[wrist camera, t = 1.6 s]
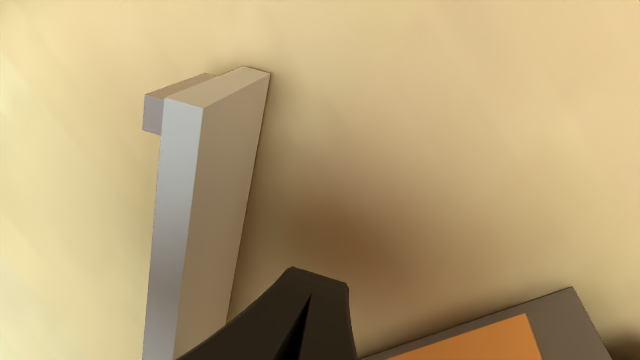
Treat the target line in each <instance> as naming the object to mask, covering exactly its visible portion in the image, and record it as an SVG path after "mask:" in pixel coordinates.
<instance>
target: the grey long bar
mask: <svg viewBox="0 0 640 360" xmlns="http://www.w3.org/2000/svg"><path fill="white" fill-rule="evenodd" d="M269 79H270V73H267V72H263V71H260V70H256V69H252V68H248V67H245V66H243V67H240V68H238V69H235V70H232V71H230V72H227V73H225V74H222V75H220V76H214V75H210V74H206V73H204V74H201V75H198V76H196V77H193V78H190V79H187V80H184V81H182V82H179V83H176V84H173V85H170V86H168V87H165V88H162V89H159V90H156V91H154V92H151V93H148V94H145V100H144V114H143V129H142V130H144V131H148V132H151V133H154V134H158V135H161V143H160V155H159V167H158V178H157V190H156V202H155V213H154V225H153V237H152V249H151V260H150V272H149V284H148V295H147V307H146V319H145V330H144V342H143V354H142V360H176V359H177V358H179V357H180V356H182V355H184V354H185V353H187V352H188V351H190V350H191V349H193V348H194V347H196V346H197V345H199V344H200V343H202V342H203V341H205V340H206V339H207V338H209V337H210V336H211V335H213V334H214V333H215V332H217V331H218V330H219V329H221V328H222V327H223V326H225V325H226V319H227V313H228V308H229V302H230V297H231V291H232V286H233V280H234V274H235V269H236V263H237V258H238V252H239V246H240V241H241V235H242V230H243V224H244V218H245V213H246V207H247V202H248V196H249V191H250V185H251V179H252V174H253V168H254V163H255V157H256V151H257V146H258V140H259V135H260V129H261V124H262V118H263V112H264V107H265V101H266V96H267V90H268V84H269Z"/></svg>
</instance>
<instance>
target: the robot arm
mask: <svg viewBox="0 0 640 360" xmlns="http://www.w3.org/2000/svg"><path fill="white" fill-rule="evenodd" d="M176 360H358V358H357V353H356V348H355V343H354V339H353V333H352V327H351V319H350V311H349V288H348V286H347V284H346V283H344V282H341V281H338V280H335V279H331V278H328V277H325V276H322V275H318V274H315V273H312V272H309V271H306V270H302V269H299V268H296V267H291V268H288V269H287V270H286V271H285V272H284V273H283V274H282V275H281V276H280V278H279V279H278V280H277V281H276V282H275V283H274V284H273V285H272V286H271V287H270V288H269V289H268V290H267V291H265V292H264V293H263V294H262V295H261V296H260V297H259V298H258V299H257V300H256V301H254V302H253V303H252V304H251V305H250V306H248V307H247V308H246V309H245V310H244V311H243V312H241V313H240V314H239V315H238V316H237V317H235V318H234V319H233V320H232V321H230V322H229V323H228V324H226V325H225V326H223V327H222V328H221V329H219V330H218V331H217V332H215V333H214V334H213V335H211V336H210V337H209V338H207V339H206V340H205V341H203V342H202V343H200V344H199V345H197V346H196V347H194V348H193V349H191V350H190V351H188V352H187V353H185V354H184V355H182V356H180V357H179V358H177V359H176Z"/></svg>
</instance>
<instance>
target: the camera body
mask: <svg viewBox="0 0 640 360" xmlns="http://www.w3.org/2000/svg"><path fill="white" fill-rule="evenodd" d="M359 360H612V358H611V357H610V355H609V353H608V351H607V349H606V347H605V346H604V344H603V342H602V340H601V338H600V336H599V334H598V333H597V331H596V329H595V327H594V325H593V323H592V322H591V320H590V318H589V316H588V314H587V312H586V311H585V309H584V307H583V305H582V303H581V301H580V299H579V298H578V296H577V294H576V292H575V290H574V288H573V287H570V288H567V289H564V290H561V291H559V292H556V293H553V294H550V295H547V296H544V297H541V298H538V299H535V300H532V301H529V302H526V303H523V304H520V305H518V306H515V307H512V308H509V309H506V310H503V311H500V312H497V313H494V314H491V315H488V316H485V317H482V318H480V319H477V320H474V321H471V322H468V323H465V324H462V325H459V326H456V327H453V328H450V329H447V330H444V331H441V332H439V333H436V334H433V335H430V336H427V337H424V338H421V339H418V340H415V341H412V342H409V343H406V344H403V345H400V346H398V347H395V348H392V349H389V350H386V351H383V352H380V353H377V354H374V355H371V356H368V357H365V358H362V359H359Z"/></svg>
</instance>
